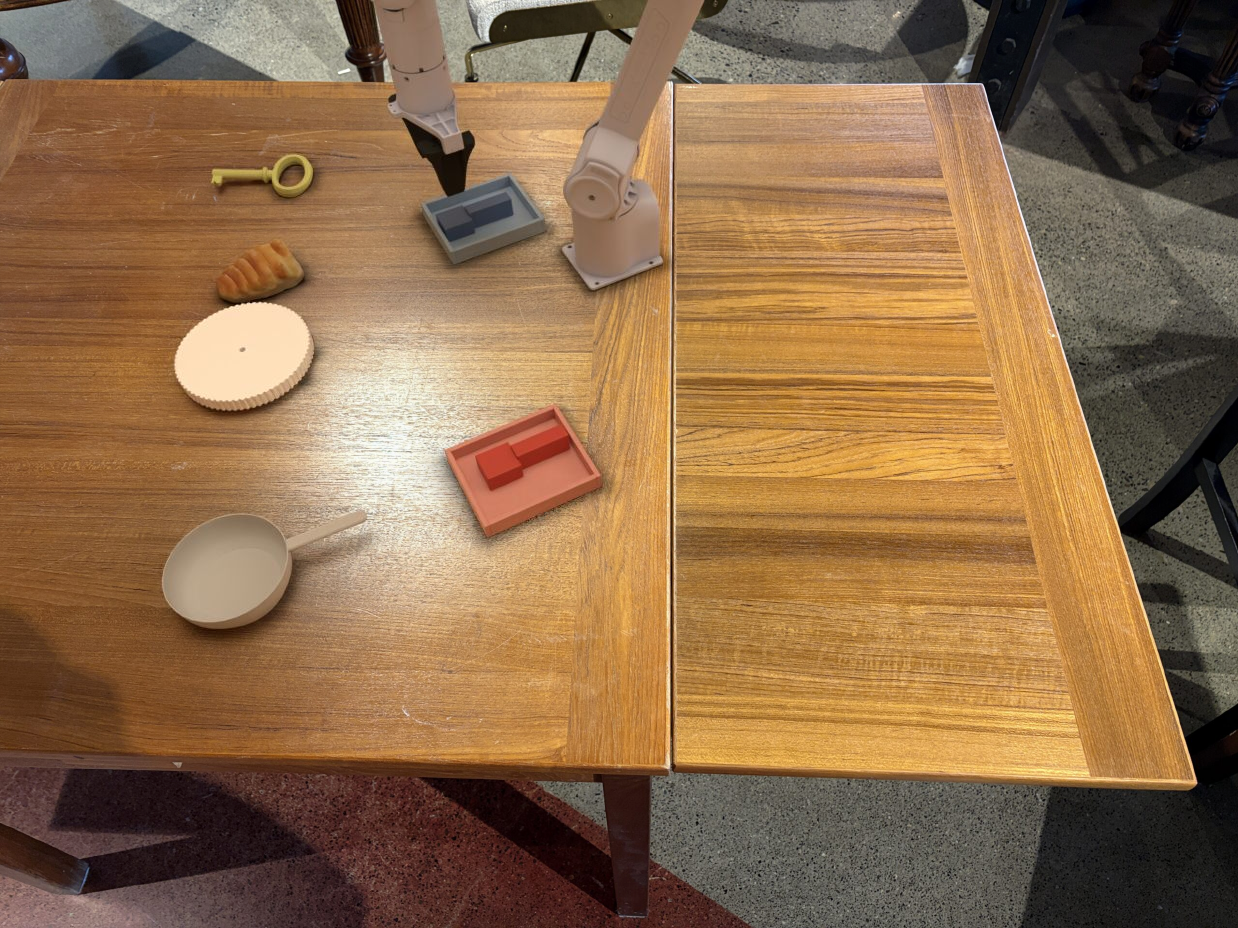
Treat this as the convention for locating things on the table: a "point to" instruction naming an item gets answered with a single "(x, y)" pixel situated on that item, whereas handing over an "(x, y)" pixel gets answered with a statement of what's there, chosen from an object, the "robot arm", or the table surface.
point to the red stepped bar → (520, 456)
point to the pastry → (260, 273)
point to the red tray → (540, 482)
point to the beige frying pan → (236, 568)
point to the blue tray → (493, 234)
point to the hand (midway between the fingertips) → (442, 173)
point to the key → (270, 175)
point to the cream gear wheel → (244, 356)
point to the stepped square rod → (474, 216)
